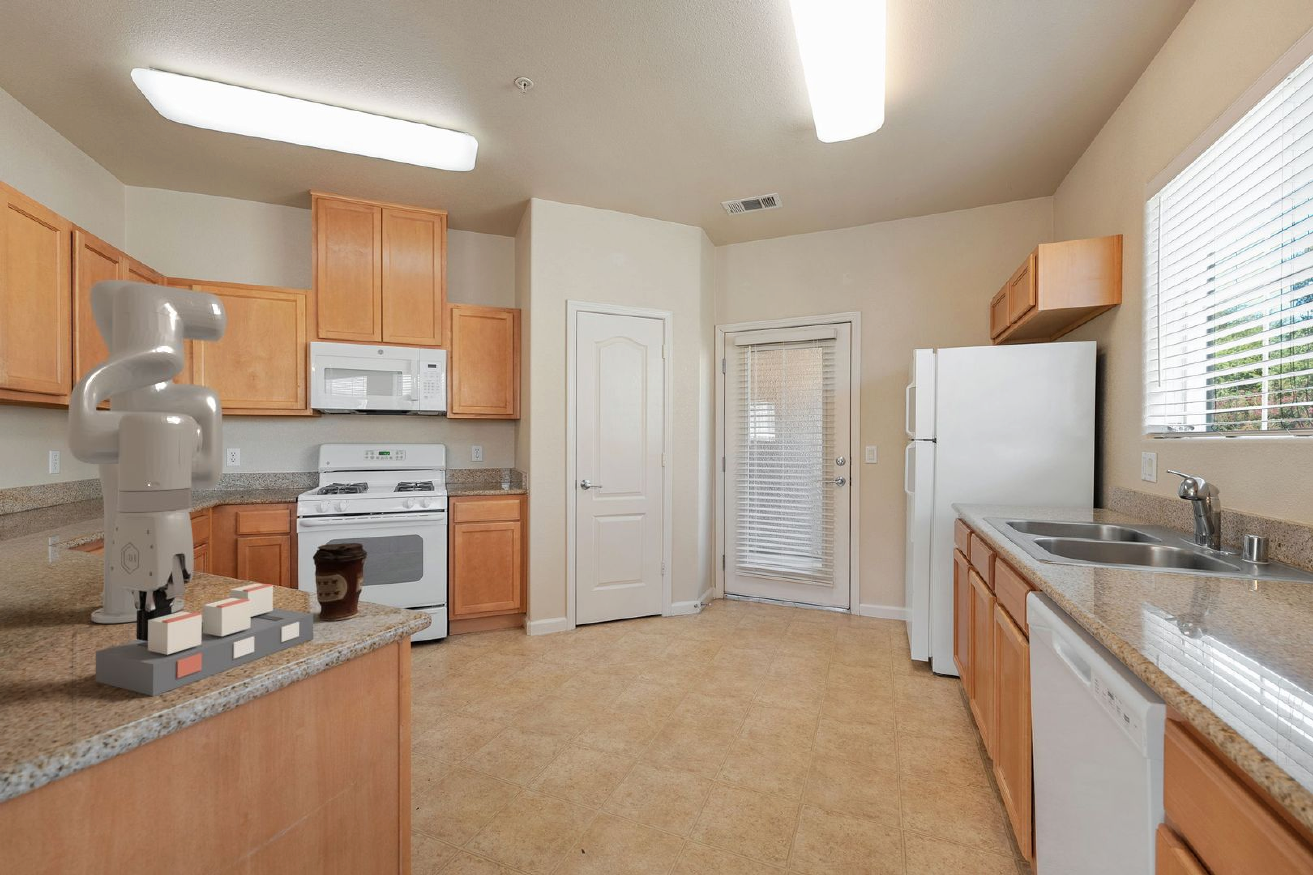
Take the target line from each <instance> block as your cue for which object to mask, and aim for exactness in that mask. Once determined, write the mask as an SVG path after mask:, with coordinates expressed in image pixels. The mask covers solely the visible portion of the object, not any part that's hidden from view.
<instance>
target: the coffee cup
mask: <svg viewBox="0 0 1313 875" xmlns="http://www.w3.org/2000/svg"><path fill="white" fill-rule="evenodd" d="M367 556H368V552H367V551H366V550H364V545H363V544H362V543H359V542H357V543H356V542H348V543H347V542H343V543H333V544H332V543H331V544H330V543H328V544H322V545H320V546H318V547H317V550H316V552H315V553H314V555H313V556H312V560H313V564H314V565H315V571H314V575H315V587H316V598H317V602H318V604H319V605H320V612H319V614H318V618H319V619H320V620H322V621H323V620H324V621H342V620H347V619H348V620H349V619H352V618H356V617H358V616H359V615H360V611H359V610H358V604H359V600H360V595H361V593H362V590H363V589H362V587H363V580H364V565H365V561H366V559H367Z"/></svg>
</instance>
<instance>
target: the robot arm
mask: <svg viewBox="0 0 1313 875" xmlns="http://www.w3.org/2000/svg"><path fill="white" fill-rule="evenodd" d="M89 305H90V310H91V314H92V318H93V321H94V323H95V326H96V327H97V330H98V332H99V334H100V336H101V337H102V340H103V342H104V344H105V346H106V349H107V352H108V356H109V357H108V358H107V359H104V360H102V361H101V362H99V363H97V364H96V365H95V366H94V367H92V368H91V369H90V370H89V369H88V371H87V372H86V373H85V374H84V375H82V376H81V378H80V379H79V380H78V381H77V382H76V384H75V386H74V387H73V389H72V392H71V394H70V397H69V403H68V416H67V417H68V420H67V421H68V423H67V445H68V449H69V451H70V453H71V455H72V456H73V457H74V458H75V459H76V460H77V461H80V462H81V463H84V464H89V465H97V468H98V469H97V470H98V475H99V480H100V487H101V491H102V498H103V512H104V513H103V514H104V515H103V516H104V517H103V518H104V521H103V523H104V524H103V525H104V526H103V527H104V528H103V530H104V531H103V532H104V533H103V534H104V536H103V554H104V555H103V591H102V592H101V593H100V594H99V596H100V599H102V600H103V606H102V607H100V608H98V609H96V610H94V611H92V613H90V614H91V615H90V620H91V621H92V622H94V623H98V624H121V623H133V622H136V640H143V641H148V620H150V619H154V618H158V617H162V616H166V615H170V614H174V613H177V612H178V611H180V610H182V609H184V607H185V600H184V599H182V598H180V597H184V596H185V595H186V590H185V589H186V588H185V585H187V584H189V583H190V582H191V581H192V579H193V577H194V568H195V567H194V564H195V561H194V559H195V556H194V555H195V552H194V539H193V537H194V536H193V529H192V527H193V526H192V521H191V515H190V513H191V511H192V491H204V490H209V489H213V488H216V486H218V485H219V483H220V481H221V479H222V475H223V463H224V462H223V409H222V408H223V407H222V402H221V398H220V396H219V394H218V392H217V391H216V390H215V389H213V388H211V387H209V386H206V385H201V384H200V385H199V384H186V383H185V384H184V383H175V382H174V380H173V379H175V378H176V377H178V376H179V375H180V374H182V373H183V371H184V368H185V366H186V358H185V348H184V340H191V341H199V342H200V341H201V342H212V343H213V342H219V341H220V340H221V339H222V338H223V336H224V335H225V333H226V330H227V320H228V318H227V312H226V309H225V306H224V303H223V301H222V300H221V299H220V297H218V296H217V295H216V294H213V293H211V292H204V291H202V290H200V291H199V290H194V289H193V290H192V289H186V288H179V287H174V286H167V285H159V284H153V283H148V282H140V281H139V282H138V281H135V280H134V281H133V280H123V279H106V280H101V281H97V282H96V283H94V284H93V285H92V287H91V288H90V291H89ZM107 399H109V410H97V407H98V406H99V405H100V404H101V403H102V402H104V401H106V400H107Z"/></svg>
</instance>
